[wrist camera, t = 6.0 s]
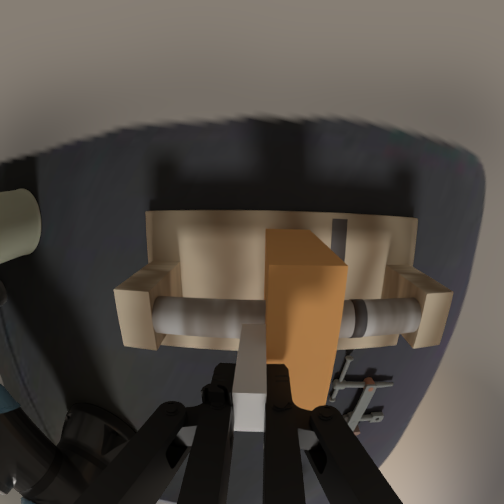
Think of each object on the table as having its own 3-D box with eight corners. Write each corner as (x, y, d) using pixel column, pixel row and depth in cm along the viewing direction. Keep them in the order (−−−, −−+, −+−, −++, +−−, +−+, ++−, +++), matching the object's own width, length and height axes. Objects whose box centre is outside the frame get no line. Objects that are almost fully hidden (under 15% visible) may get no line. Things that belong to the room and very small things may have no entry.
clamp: (372, 439, 32) (311, 441, 32) (368, 429, 34) (309, 431, 34) (415, 362, 29) (346, 361, 29) (408, 353, 31) (342, 351, 31)
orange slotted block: (262, 344, 28) (262, 431, 16) (265, 228, 25) (268, 264, 14) (300, 344, 28) (319, 429, 16) (309, 229, 25) (348, 265, 13)
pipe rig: (161, 340, 31) (130, 390, 21) (149, 210, 27) (100, 223, 18) (393, 340, 30) (427, 386, 20) (413, 217, 26) (467, 232, 17)
